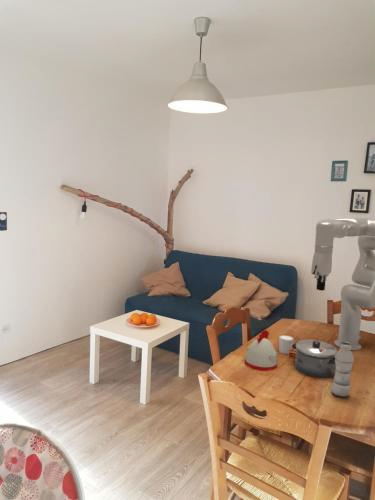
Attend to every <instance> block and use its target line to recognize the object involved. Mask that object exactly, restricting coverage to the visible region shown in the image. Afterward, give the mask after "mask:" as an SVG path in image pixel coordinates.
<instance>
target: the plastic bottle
mask: <svg viewBox="0 0 375 500" xmlns="http://www.w3.org/2000/svg"><path fill="white" fill-rule="evenodd" d="M336 352H337V353H336V355H335V367H334V374H333V378H332V379H333V380H332V382H331V386H330V387H331V389H330V390H331V392H332V394H333V395H335V396H336V397H341V398H342V397H343V398H345V397H348V396H349V394H351V372H352V368H353V365H354V361H355V358H354V355H353V353H352V350H351V344H350V343H347V342H341V343H340V347H339V350H337V351H336Z"/></svg>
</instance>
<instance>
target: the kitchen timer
mask: <svg viewBox="0 0 375 500" xmlns="http://www.w3.org/2000/svg"><path fill="white" fill-rule="evenodd" d="M269 335H270V332H269V330H267V329H265V330H263V331H261V332H260V334H258V337H257V338H256V339H254V340H253V342H252V343H250V345H249V346H247V347H246V353H245V357H244V364H245V363H246V364H247V365H248V366H249V367H248V366H247V365H246V364H245V365H246V366H247V367H248V368H250V367H251V369H253V370H256V371H263V372H268V371H270V372H271V371H274V370H275V369H277V367H278V351H276V350H275V348H274V346H273V343H272V342H271V341H270V340H269Z"/></svg>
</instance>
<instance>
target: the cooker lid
mask: <svg viewBox="0 0 375 500" xmlns="http://www.w3.org/2000/svg"><path fill="white" fill-rule="evenodd" d="M296 348H297V349H298V350H299V351H301V352H302V353H305V354H308V355H311V356H316V357H332V356H334V355H336V352H338V350H337V347H335V346H333V345H332V344H330V343H327V342H325V341H321V340H316V339H301V340H298V341H296Z"/></svg>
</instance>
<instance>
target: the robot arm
mask: <svg viewBox="0 0 375 500" xmlns="http://www.w3.org/2000/svg"><path fill="white" fill-rule="evenodd" d="M345 237H349V238H350V237H351V238H352V237H358V238H357V246H358V251H359V258H358V261H357V263H356V266H355V268H354V270H353V273H352V274H351V281H352V282H353V283H354V284H345V285H343V286H342V287H341V290H340V298H341V299H340V301H341V309H340V316H339V317H340V318H339V320H340V321H339V327H338V328H339V329H338V337H337V339H336V340H334V345H335V346H336V347H337V348H340V343H341V342H347V343H350V344H351V350H350V351H359V350H361V349H362V345H361V344H360V343H359V340H361V339H362V337H361V336H360V330H361V322H362V309H361V307H362V308H367V309H374V308H375V253H374V251H375V218H369V217H365V218H364V217H362V218H359V217H358V218H341V219H340V218H338V219H337V218H336V219H335V218H334V219H329V218H328V219H321V220H319V221H318V222H317V223H316V226H315V241H314V253H313V256H312V262H311V270H310V273H311V275H314V276H313V278H314V279H316V290H318V291H321V292H323V291H325V290H326V282H327V277H328V276H329V275H330V274H331V272H332V269H333V268H332V265H333V250H334V238H335V239H342V238H345Z"/></svg>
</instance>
